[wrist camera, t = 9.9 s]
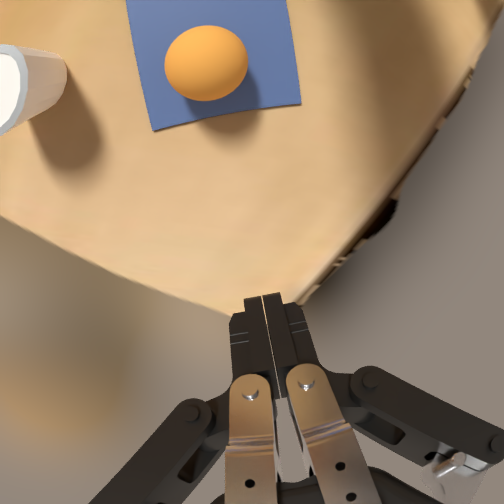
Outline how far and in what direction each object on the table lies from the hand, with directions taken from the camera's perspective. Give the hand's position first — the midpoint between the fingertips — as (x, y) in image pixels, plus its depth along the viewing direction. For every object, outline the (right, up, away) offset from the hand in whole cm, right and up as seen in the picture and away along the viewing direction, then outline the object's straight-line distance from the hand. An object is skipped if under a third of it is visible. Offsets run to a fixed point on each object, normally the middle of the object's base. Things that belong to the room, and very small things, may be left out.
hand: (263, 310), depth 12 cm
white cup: (-18, +17, +5) cm, 26 cm away
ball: (-3, +15, +4) cm, 16 cm away
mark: (-3, +18, +6) cm, 19 cm away
